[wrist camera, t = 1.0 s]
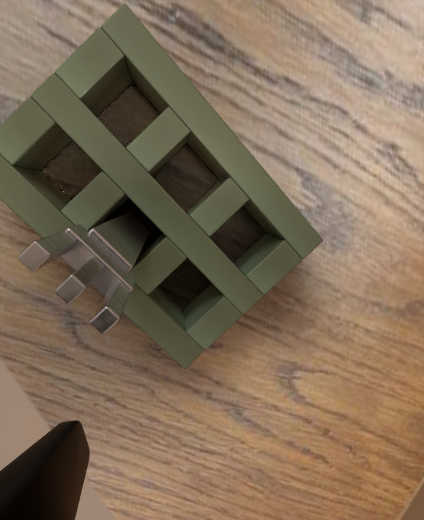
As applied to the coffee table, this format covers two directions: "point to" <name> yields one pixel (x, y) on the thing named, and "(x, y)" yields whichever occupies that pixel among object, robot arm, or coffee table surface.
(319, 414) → the coffee table surface
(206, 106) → the rack
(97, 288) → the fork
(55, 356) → the coffee table surface
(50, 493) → the robot arm
